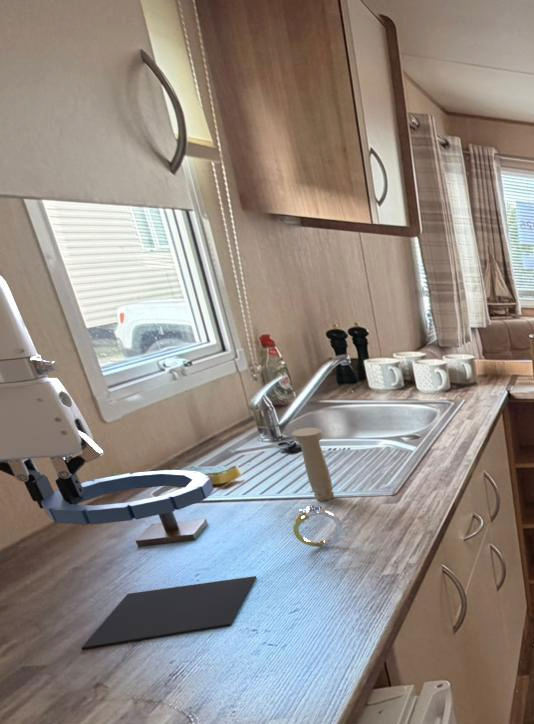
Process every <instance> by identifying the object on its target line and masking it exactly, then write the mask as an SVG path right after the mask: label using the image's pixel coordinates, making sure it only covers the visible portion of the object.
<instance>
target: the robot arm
mask: <svg viewBox="0 0 534 724" xmlns="http://www.w3.org/2000/svg"><path fill="white" fill-rule="evenodd" d="M58 371H59V366H58V364H57V362H56V361H54V360H46V359H43V357H42V356H41V354H38V352H37V349H36V347H35V345H34V342H33V340H32V337H31V336H30V333H29V331H28V329H27V327H26V325H25V322H24V320H23V317H22V315H21V313H20V310H19V308H18V305H17V304H16V302H15V299H14V297H13V294H12V292H11V290H10V288H9V286H8V284H7V281H6V280H5V279H4V278H3V277H2V276H1V275H0V472H2V473H5V474H7V475H10V476H12V477H14V478H15V480H17V481H18V482H22V483H24V486H25V487H26V490H27V492H28V494H29V496H30V498H31V500H32V501H33V502H36V503H37V505H38V507H39V508H40V509H43V510H44V508H43V506H42V504H41V501H42V500H43V499H45V498H46V497H48V496H49V495H51V494H52V493H54V492H55V491H54V488H53V486H52V484H51V482H50V480H49V478H48V476H47V475H45V473H44V474H41V472H40V471H39V469H38V467H37V464H36V463H35V459H42V458H49V459H50V461H51V463H52V466H53V468H54V470H55V472H56V475H57V479H55V484H56V487H57V488H58V491H59V490H60V493H61V495H62V497H63V498H64V500H65V501H66V502H67V503H68V504H74V505H76V504H77V503H79V502H80V501H81V500H83V496H84V495H85V493H84V490H83V488H82V485H81V483H82V482H81V481H80V479H79V477H78V474H77V473H78V472H79V471H80V470H81V468H82V467H84V465H85V464H87V463H89V462H92V461H94V460H97V459H98V458H100V457H102V456H103V455H104V454H105V451H104V450H103V449H102V448H101V447H99V445H98V444H96V443H95V441H94V436H93V434H92V432H91V430H90V428H89V426H88V424H87V421H86V420H85V418H84V416H83V414H82V412H81V411H80V409H79V408H78V406H77V404H76V402H75V401H74V399H73V397H72V396H71V395H70V393H69V392H68V391H67V389H66V387H65V386H64V385H63V383H62V382H61V381H60V379H58V378H57V377H48V376H49V375H50V374H49V373H51V372H58ZM81 451H82V453H80V452H81ZM78 453H79V454H78ZM74 455H75V456H74ZM79 504H80V503H79Z"/></svg>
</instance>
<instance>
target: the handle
mask: <svg viewBox="0 0 534 724" xmlns="http://www.w3.org/2000/svg"><path fill="white" fill-rule="evenodd" d="M291 436H292V439H293V441H294V442H297V443H299V445H300V448H301V453H302V457H303V458H302V459H303V462H304V466H305V472H306V476H307V479H308V482H309V485H310V488H311V490H312V492H313V494H314V498H315V500H316V501H320V502H324V501H330V500H331V499H334V497H335V493H334V491H333V490H334V489H333V483H332V478H331V473H330V470H329V467H328V464H327V462H326V459H325V456H324V453H323V450H322V446H321V443H320V441H321V440H322V439H323V432H322V429H320V428H318V427H303V428H298V429H295V430H293V431H292V433H291Z"/></svg>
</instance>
